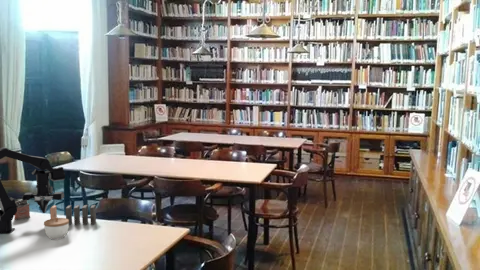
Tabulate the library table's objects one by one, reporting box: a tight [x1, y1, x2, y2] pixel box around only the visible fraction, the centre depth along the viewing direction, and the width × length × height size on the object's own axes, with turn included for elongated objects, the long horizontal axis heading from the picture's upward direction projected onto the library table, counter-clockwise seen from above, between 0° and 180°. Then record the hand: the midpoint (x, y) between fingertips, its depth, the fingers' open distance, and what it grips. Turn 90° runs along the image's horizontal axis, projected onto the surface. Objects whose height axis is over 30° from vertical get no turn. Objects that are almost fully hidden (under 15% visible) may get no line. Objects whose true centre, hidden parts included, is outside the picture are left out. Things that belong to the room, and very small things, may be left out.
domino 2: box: [65, 204, 73, 226], centre depth 229 cm, size 5×2×9 cm, turn 6°
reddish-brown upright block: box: [13, 199, 31, 221], centre depth 238 cm, size 8×3×10 cm, turn 141°
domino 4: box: [81, 204, 89, 226], centre depth 230 cm, size 5×2×9 cm, turn 6°
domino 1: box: [49, 205, 58, 219], centre depth 228 cm, size 5×2×9 cm, turn 6°
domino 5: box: [89, 204, 97, 226], centre depth 230 cm, size 5×2×9 cm, turn 6°
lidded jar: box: [43, 216, 70, 240], centre depth 208 cm, size 11×11×9 cm
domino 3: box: [73, 204, 81, 226], centre depth 229 cm, size 5×2×9 cm, turn 6°
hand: (44, 212), depth 227 cm, fingers closed
